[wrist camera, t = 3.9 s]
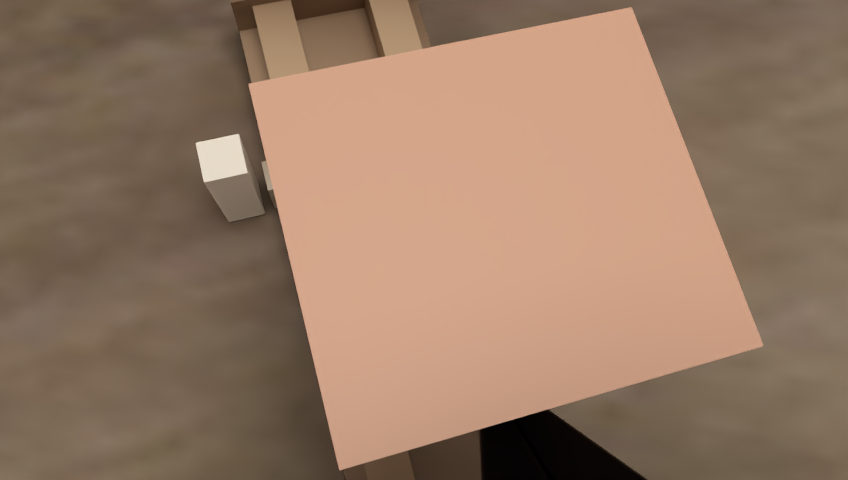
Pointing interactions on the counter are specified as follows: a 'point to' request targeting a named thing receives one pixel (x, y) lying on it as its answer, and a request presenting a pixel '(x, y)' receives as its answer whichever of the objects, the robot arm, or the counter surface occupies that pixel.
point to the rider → (493, 231)
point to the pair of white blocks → (230, 177)
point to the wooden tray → (328, 47)
